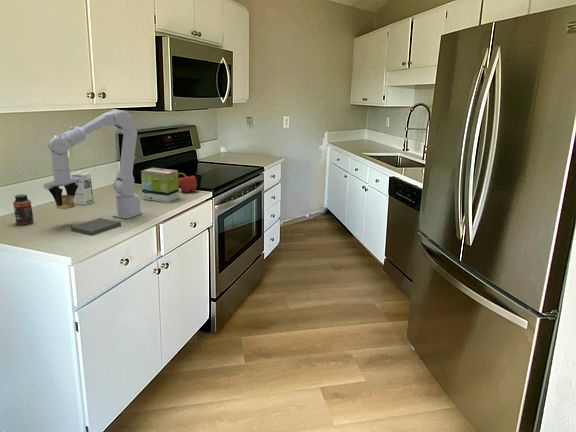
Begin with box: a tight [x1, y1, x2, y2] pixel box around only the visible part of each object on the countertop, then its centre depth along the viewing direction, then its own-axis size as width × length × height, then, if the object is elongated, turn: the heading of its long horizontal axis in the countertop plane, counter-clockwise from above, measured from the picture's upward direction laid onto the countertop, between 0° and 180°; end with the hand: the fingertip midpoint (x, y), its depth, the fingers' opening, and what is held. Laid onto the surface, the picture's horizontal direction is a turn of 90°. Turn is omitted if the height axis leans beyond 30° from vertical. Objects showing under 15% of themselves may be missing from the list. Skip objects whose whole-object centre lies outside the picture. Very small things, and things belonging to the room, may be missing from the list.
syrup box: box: [71, 171, 94, 206], centre depth 196 cm, size 6×6×14 cm
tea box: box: [140, 167, 180, 204], centre depth 209 cm, size 15×10×15 cm, turn 73°
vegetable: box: [178, 172, 198, 193], centre depth 227 cm, size 11×10×10 cm
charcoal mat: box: [70, 217, 122, 236], centre depth 164 cm, size 14×11×2 cm
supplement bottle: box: [12, 193, 34, 226], centre depth 166 cm, size 6×6×11 cm
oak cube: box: [55, 194, 75, 210], centre depth 165 cm, size 4×4×4 cm
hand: (65, 204), depth 165 cm, fingers closed on oak cube, 4 cm apart
